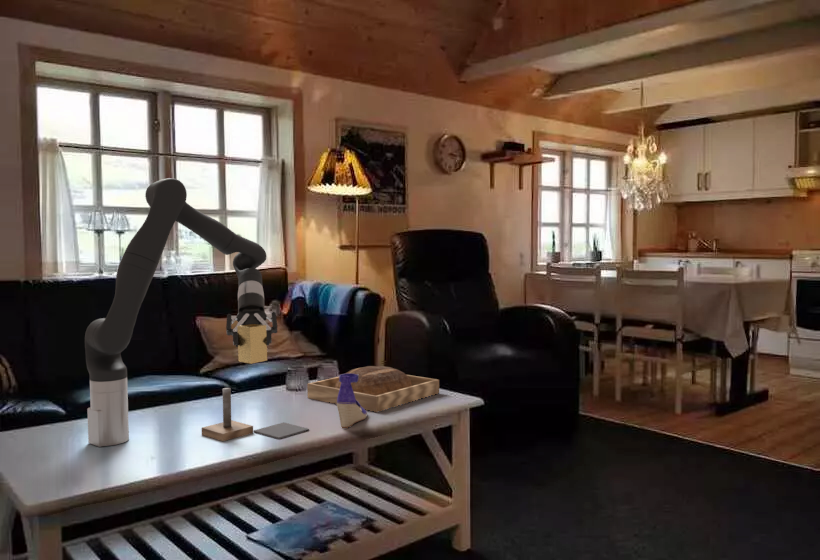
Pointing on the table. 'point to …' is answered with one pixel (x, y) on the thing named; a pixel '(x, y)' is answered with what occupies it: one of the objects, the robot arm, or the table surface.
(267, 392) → the table surface
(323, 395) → the bread tray
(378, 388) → the bread
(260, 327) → the sleeve
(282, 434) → the mat
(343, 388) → the purple wedge sandal
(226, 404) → the peg stand
